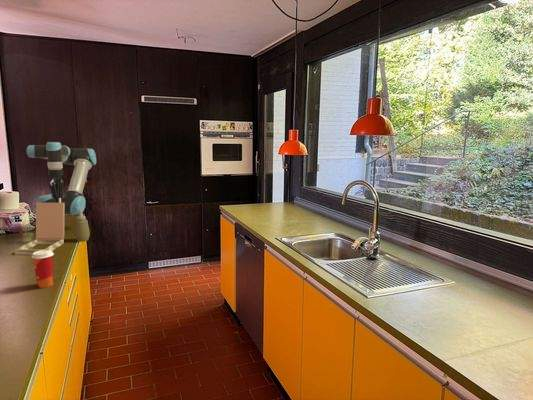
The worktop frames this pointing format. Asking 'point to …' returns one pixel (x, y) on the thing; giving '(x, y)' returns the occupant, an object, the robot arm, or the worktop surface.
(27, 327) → the worktop surface
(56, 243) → the frame
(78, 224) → the squeeze bottle
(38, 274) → the paper cup
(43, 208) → the lid
